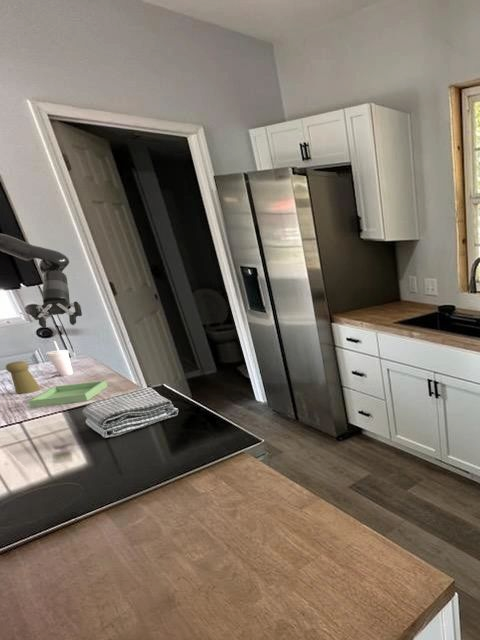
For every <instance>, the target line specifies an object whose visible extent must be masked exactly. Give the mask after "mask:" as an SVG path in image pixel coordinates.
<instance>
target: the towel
mask: <svg viewBox="0 0 480 640" xmlns="http://www.w3.org/2000/svg"><path fill="white" fill-rule="evenodd" d="M81 413H82V415H83V416H84V418H86V419H85V424H86V425H87V426H88V427H89V428H90V429H92V430H93V431H95V433H98V434H99V435H101V436H102V438H104V439H107V438H113V437H119V436H121V435H123V434H124V435H125V434H127V433H131V432H133V431H136V430H138V429H141V428H145V427H147V426H151V425H153V424H156V423H158V422H162V421H165V420H168V419H171V418H174V417H177V416H178V414H179V408H177V407H174V404H173V403H172V401H171V399H168V398H166V397H164V396H162V395H160V393H159V392H157V391H156V390H155V389H154V388H152V387H151V386H147V387H144V388H141V389H138V390H135V391H131V392H127V393H124V394H121V395H117V396H113V397H109V398H106V399H103V400H102V399H101V400H98V401H95V402H91V403H89V404H88V405H86V406H85V407H84V408H83V409H82V411H81Z"/></svg>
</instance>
